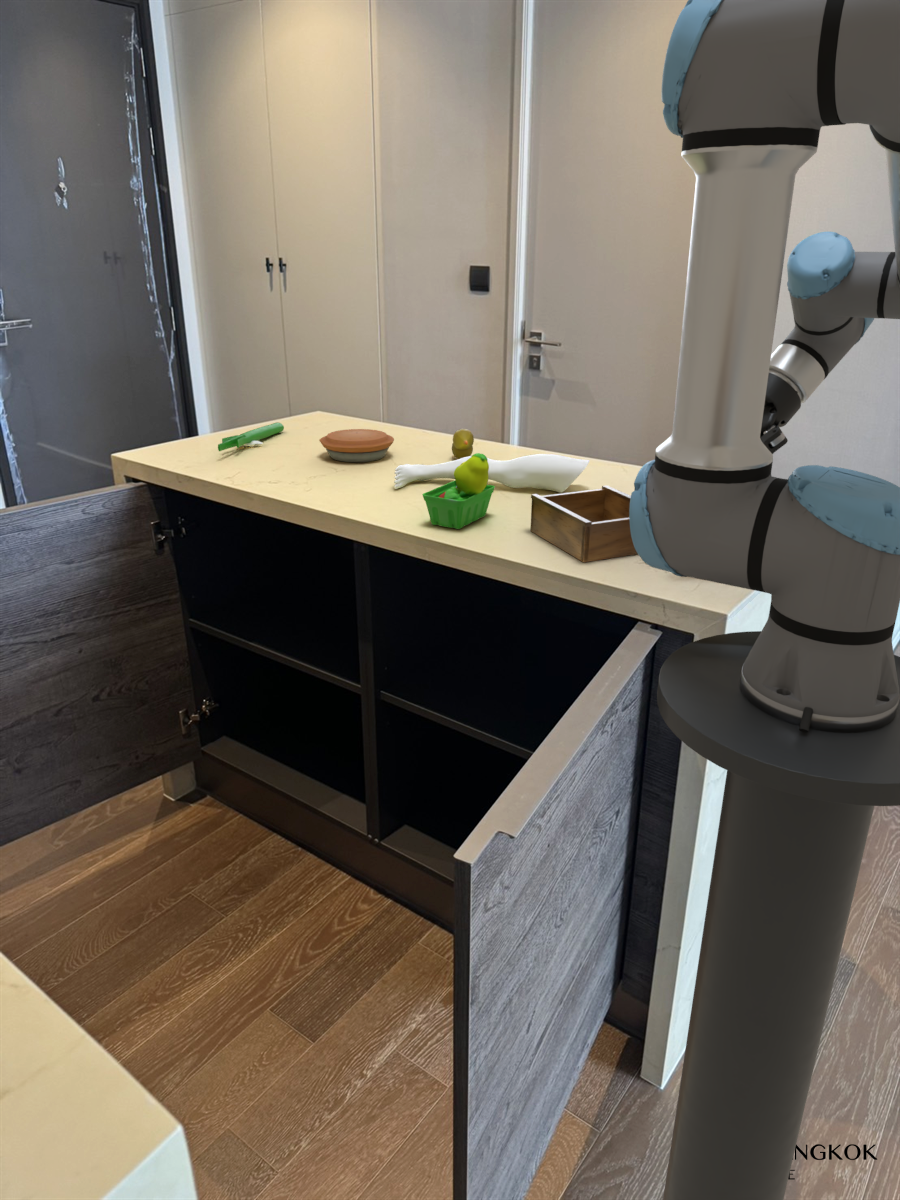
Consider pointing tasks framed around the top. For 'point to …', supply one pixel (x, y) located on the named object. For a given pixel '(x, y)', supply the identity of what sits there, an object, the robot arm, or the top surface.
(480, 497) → the fruit basket
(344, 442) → the pie
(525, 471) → the leg
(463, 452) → the bird figurine
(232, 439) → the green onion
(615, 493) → the wooden crate
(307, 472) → the top surface
